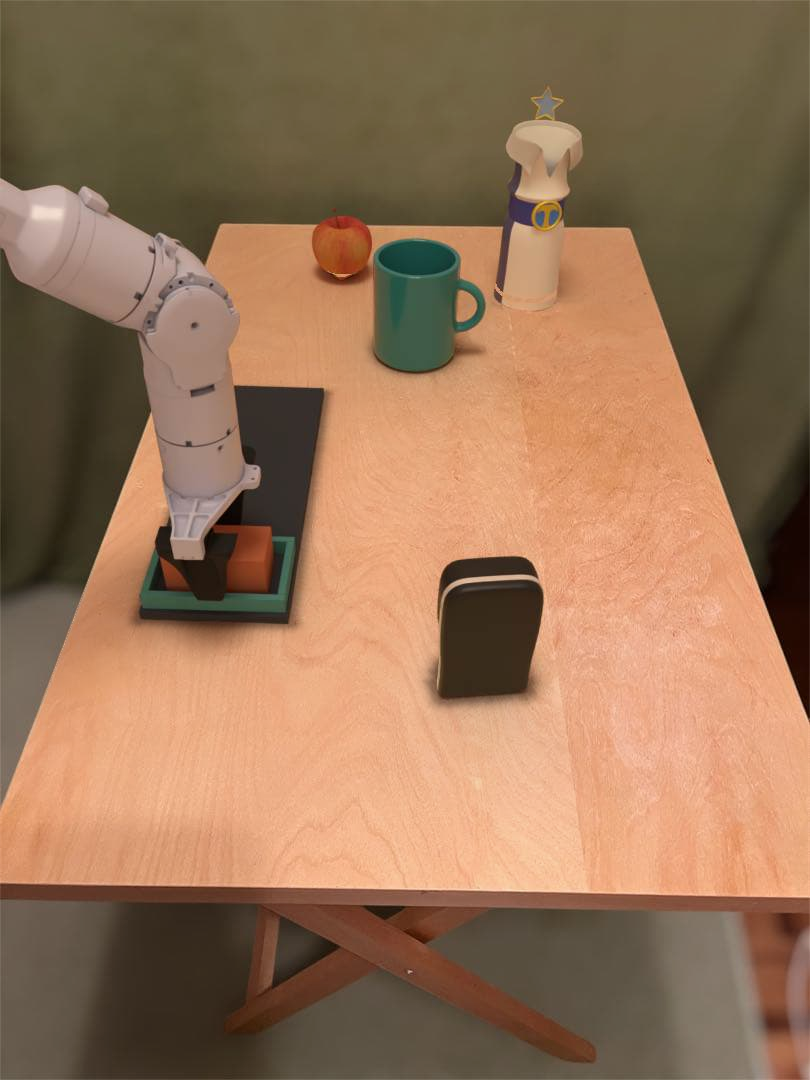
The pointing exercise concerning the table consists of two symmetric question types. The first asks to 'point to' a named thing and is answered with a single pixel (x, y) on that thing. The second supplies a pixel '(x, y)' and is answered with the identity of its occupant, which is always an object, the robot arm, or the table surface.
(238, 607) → the back pad
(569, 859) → the table surface
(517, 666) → the battery charger
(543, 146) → the white trophy figurine
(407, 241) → the cup
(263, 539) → the pad piece
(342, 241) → the apple
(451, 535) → the table surface
